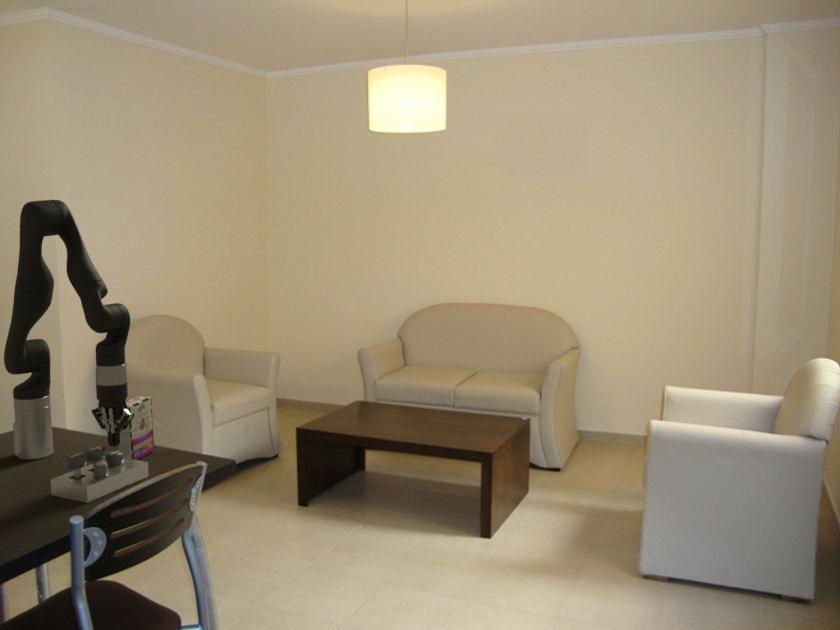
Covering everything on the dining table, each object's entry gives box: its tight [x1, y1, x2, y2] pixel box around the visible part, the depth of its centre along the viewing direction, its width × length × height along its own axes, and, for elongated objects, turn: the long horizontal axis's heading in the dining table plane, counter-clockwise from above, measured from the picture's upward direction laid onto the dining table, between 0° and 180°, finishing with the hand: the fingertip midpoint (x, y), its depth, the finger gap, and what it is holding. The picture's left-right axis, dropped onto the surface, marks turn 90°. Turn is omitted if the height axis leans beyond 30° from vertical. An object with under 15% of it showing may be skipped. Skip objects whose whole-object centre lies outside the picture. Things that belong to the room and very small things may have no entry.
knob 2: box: [84, 445, 107, 472], centre depth 191 cm, size 5×5×6 cm
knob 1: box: [65, 451, 88, 480], centre depth 186 cm, size 5×5×6 cm
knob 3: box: [105, 449, 125, 466], centre depth 197 cm, size 5×5×6 cm
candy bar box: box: [116, 395, 155, 461], centre depth 213 cm, size 11×5×16 cm, turn 168°
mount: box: [50, 458, 150, 504], centre depth 191 cm, size 12×20×4 cm, turn 156°
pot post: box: [95, 460, 108, 478], centre depth 187 cm, size 3×3×4 cm
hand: (114, 445), depth 197 cm, fingers closed
